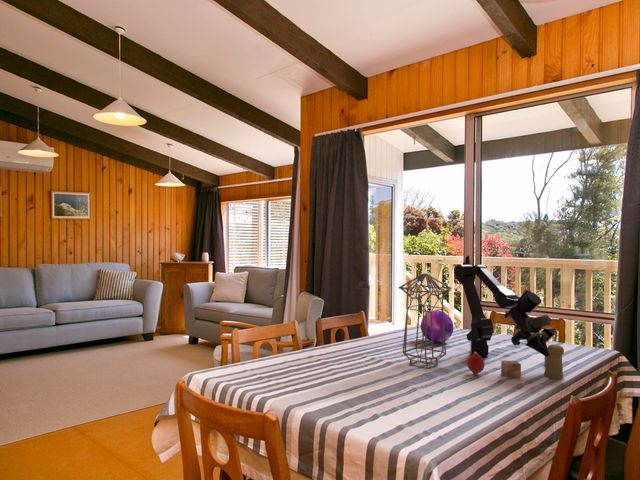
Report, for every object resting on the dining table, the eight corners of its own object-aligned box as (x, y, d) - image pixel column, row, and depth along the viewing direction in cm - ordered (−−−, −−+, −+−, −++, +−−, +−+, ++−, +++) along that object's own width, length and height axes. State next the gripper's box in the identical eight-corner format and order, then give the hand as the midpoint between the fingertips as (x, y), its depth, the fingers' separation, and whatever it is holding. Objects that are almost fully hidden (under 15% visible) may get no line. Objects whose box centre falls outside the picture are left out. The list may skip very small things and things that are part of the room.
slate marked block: (544, 366, 180) (544, 352, 180) (544, 363, 185) (545, 350, 185) (559, 368, 178) (559, 354, 178) (559, 365, 182) (559, 351, 182)
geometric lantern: (452, 365, 177) (454, 273, 177) (431, 374, 166) (433, 276, 165) (416, 357, 188) (417, 270, 188) (393, 365, 177) (395, 272, 176)
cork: (565, 379, 162) (568, 348, 161) (546, 377, 163) (549, 346, 162) (560, 374, 168) (562, 344, 167) (542, 372, 169) (544, 342, 168)
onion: (484, 373, 168) (484, 350, 168) (484, 377, 162) (484, 354, 162) (467, 371, 169) (467, 349, 170) (466, 375, 164) (467, 352, 164)
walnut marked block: (506, 378, 162) (506, 363, 162) (501, 374, 167) (501, 359, 167) (520, 378, 162) (521, 363, 162) (515, 374, 167) (515, 360, 167)
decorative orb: (457, 346, 212) (457, 313, 212) (423, 345, 213) (424, 312, 213) (448, 339, 227) (449, 308, 227) (417, 338, 228) (418, 308, 228)
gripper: (518, 308, 167) (545, 345, 157) (552, 306, 176) (580, 341, 166) (500, 326, 174) (525, 363, 164) (533, 324, 183) (559, 358, 173)
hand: (548, 356), depth 167 cm, fingers closed
